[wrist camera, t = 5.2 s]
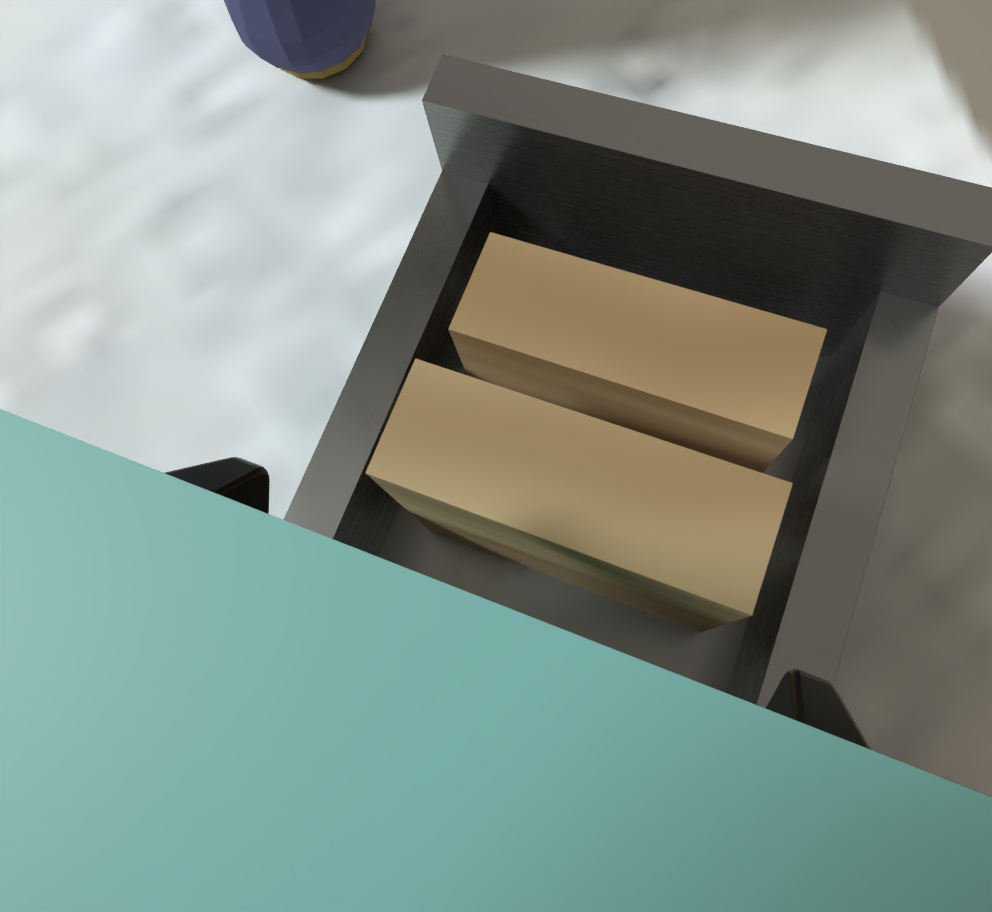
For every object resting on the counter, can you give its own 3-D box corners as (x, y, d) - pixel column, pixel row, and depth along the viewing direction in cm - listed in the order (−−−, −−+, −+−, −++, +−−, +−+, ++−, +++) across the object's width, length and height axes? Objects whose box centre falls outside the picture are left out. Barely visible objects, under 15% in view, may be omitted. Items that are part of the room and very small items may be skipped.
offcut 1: (743, 493, 16) (792, 439, 12) (479, 404, 17) (448, 328, 13) (771, 408, 16) (827, 329, 13) (511, 326, 18) (490, 231, 14)
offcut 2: (700, 632, 15) (752, 615, 11) (429, 529, 17) (365, 473, 12) (730, 539, 16) (793, 483, 11) (463, 445, 17) (415, 358, 12)
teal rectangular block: (653, 826, 13) (973, 1533, 2) (334, 687, 14) (-429, 727, 3) (690, 708, 13) (1101, 841, 3) (377, 582, 14) (-184, 337, 4)
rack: (688, 987, 15) (759, 1209, 9) (249, 780, 17) (56, 842, 11) (873, 359, 18) (1024, 195, 12) (480, 244, 20) (433, 52, 14)
